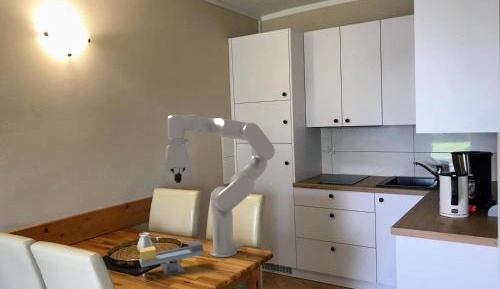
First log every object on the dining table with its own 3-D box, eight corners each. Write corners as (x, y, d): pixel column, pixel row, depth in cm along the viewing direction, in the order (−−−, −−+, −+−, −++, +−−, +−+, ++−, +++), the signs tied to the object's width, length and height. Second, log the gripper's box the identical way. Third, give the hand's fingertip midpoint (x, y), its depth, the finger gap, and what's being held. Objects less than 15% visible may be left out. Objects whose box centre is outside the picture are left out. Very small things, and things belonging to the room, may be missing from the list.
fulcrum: (178, 263, 172) (178, 253, 172) (184, 272, 161) (184, 262, 160) (160, 265, 169) (160, 256, 169) (165, 275, 158) (164, 265, 158)
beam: (199, 249, 174) (198, 239, 173) (204, 255, 165) (203, 245, 165) (139, 261, 164) (138, 250, 164) (141, 269, 156) (140, 257, 155)
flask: (151, 261, 175) (150, 239, 175) (136, 260, 177) (135, 238, 176) (158, 255, 182) (157, 234, 182) (144, 254, 184) (143, 234, 183)
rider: (155, 256, 164) (154, 245, 164) (156, 260, 160) (155, 249, 159) (140, 259, 162) (139, 248, 162) (141, 263, 158) (140, 252, 157)
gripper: (191, 141, 181) (192, 180, 182) (158, 142, 176) (160, 182, 177) (194, 142, 174) (196, 182, 175) (161, 143, 169) (162, 185, 170)
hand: (178, 182), depth 176 cm, fingers closed
